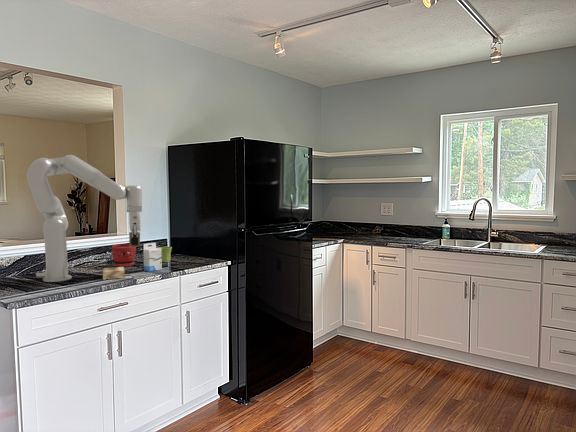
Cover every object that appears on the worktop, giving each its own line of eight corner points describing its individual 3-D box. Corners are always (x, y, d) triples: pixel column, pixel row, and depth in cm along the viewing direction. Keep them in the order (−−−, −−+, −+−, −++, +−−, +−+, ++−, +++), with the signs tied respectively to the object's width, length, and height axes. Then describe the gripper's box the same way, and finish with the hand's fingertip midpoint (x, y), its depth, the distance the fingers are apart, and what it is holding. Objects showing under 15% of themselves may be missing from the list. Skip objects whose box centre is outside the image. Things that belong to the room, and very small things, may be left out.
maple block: (103, 279, 215) (102, 271, 215) (103, 276, 225) (103, 268, 224) (124, 278, 219) (124, 270, 219) (124, 274, 228) (123, 266, 228)
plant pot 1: (131, 267, 247) (130, 246, 246) (108, 267, 247) (107, 246, 246) (139, 263, 260) (139, 243, 259) (117, 263, 260) (117, 243, 259)
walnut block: (129, 246, 224) (129, 233, 224) (129, 245, 229) (129, 232, 228) (140, 246, 226) (139, 233, 226) (139, 245, 231) (139, 232, 230)
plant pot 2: (153, 262, 265) (152, 247, 264) (165, 259, 272) (165, 246, 272) (163, 263, 259) (163, 249, 259) (175, 261, 267) (175, 247, 267)
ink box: (149, 272, 235) (148, 244, 234) (143, 271, 237) (142, 244, 236) (162, 269, 242) (161, 242, 240) (156, 268, 244) (155, 242, 243)
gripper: (143, 210, 220) (143, 246, 221) (140, 208, 236) (141, 242, 237) (127, 210, 217) (127, 246, 218) (125, 208, 233) (126, 242, 234)
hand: (134, 243), depth 227 cm, fingers closed on walnut block, 5 cm apart
